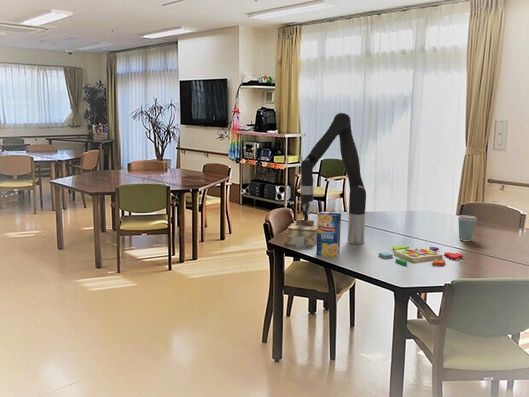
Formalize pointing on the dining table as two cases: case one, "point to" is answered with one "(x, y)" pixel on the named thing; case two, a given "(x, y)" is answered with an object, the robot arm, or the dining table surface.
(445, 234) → the dining table surface
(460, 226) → the disposable coffee cup
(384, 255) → the pattern blocks set
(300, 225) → the lid
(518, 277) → the dining table surface
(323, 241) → the blue food carton
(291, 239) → the box
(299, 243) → the steel block
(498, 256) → the dining table surface
